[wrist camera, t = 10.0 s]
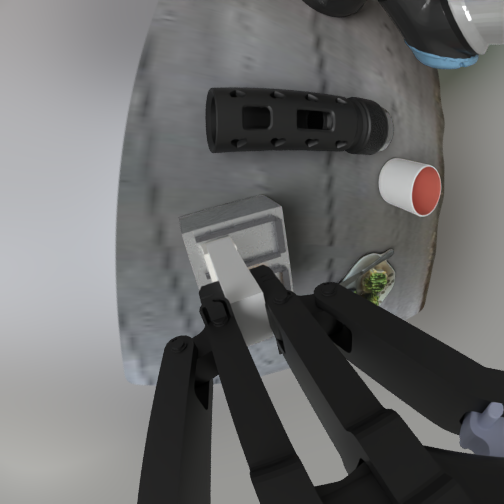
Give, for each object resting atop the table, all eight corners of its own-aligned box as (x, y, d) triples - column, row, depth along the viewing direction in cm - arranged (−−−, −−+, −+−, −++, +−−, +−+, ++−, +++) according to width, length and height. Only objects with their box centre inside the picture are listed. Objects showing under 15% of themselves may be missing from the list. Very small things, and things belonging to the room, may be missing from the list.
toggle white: (229, 235, 38) (237, 247, 34) (235, 261, 39) (243, 275, 36) (200, 244, 37) (205, 256, 33) (208, 270, 39) (213, 284, 35)
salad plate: (371, 227, 56) (385, 235, 52) (403, 266, 64) (415, 274, 60) (316, 299, 58) (326, 310, 54) (356, 325, 67) (367, 336, 63)
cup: (370, 197, 52) (405, 211, 44) (382, 150, 49) (418, 158, 40) (400, 206, 56) (433, 220, 47) (411, 164, 53) (445, 173, 44)
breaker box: (262, 194, 45) (284, 207, 38) (276, 277, 53) (296, 302, 45) (178, 217, 43) (182, 236, 35) (204, 300, 50) (213, 330, 42)
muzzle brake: (203, 92, 36) (216, 79, 27) (358, 103, 44) (397, 101, 35) (205, 153, 40) (218, 157, 31) (357, 152, 48) (396, 159, 39)
